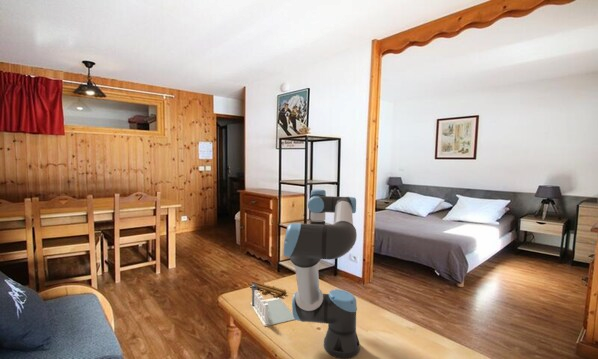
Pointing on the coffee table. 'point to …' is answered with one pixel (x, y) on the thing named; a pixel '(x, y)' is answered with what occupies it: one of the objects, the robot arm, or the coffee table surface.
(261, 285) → the decorative fence
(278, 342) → the coffee table surface
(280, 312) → the board
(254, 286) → the corner post
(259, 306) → the fence panel
